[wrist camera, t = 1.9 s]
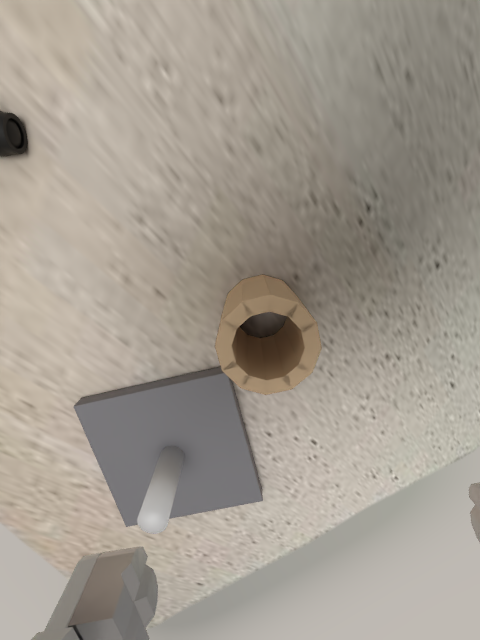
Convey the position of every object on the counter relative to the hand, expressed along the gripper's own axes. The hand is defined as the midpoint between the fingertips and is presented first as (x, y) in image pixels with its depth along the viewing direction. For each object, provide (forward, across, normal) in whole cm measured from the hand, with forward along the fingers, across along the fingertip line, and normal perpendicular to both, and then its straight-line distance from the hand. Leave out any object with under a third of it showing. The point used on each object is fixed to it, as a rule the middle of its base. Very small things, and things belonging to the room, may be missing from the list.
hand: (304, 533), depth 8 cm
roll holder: (+21, +11, +11) cm, 26 cm away
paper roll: (+21, 0, 0) cm, 21 cm away
